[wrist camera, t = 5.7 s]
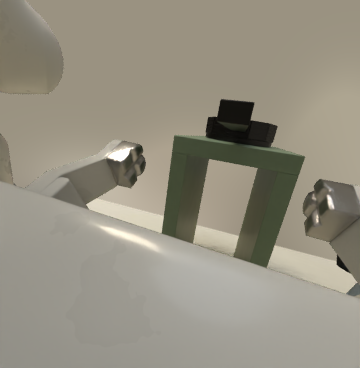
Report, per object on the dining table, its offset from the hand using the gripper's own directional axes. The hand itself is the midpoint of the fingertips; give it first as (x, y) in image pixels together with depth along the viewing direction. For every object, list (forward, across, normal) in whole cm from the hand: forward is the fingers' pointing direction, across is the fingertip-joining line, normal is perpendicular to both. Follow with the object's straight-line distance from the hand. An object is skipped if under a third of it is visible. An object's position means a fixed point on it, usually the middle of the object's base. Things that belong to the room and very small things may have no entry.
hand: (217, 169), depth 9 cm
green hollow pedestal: (+6, 0, +33) cm, 33 cm away
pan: (+14, 0, +7) cm, 16 cm away
